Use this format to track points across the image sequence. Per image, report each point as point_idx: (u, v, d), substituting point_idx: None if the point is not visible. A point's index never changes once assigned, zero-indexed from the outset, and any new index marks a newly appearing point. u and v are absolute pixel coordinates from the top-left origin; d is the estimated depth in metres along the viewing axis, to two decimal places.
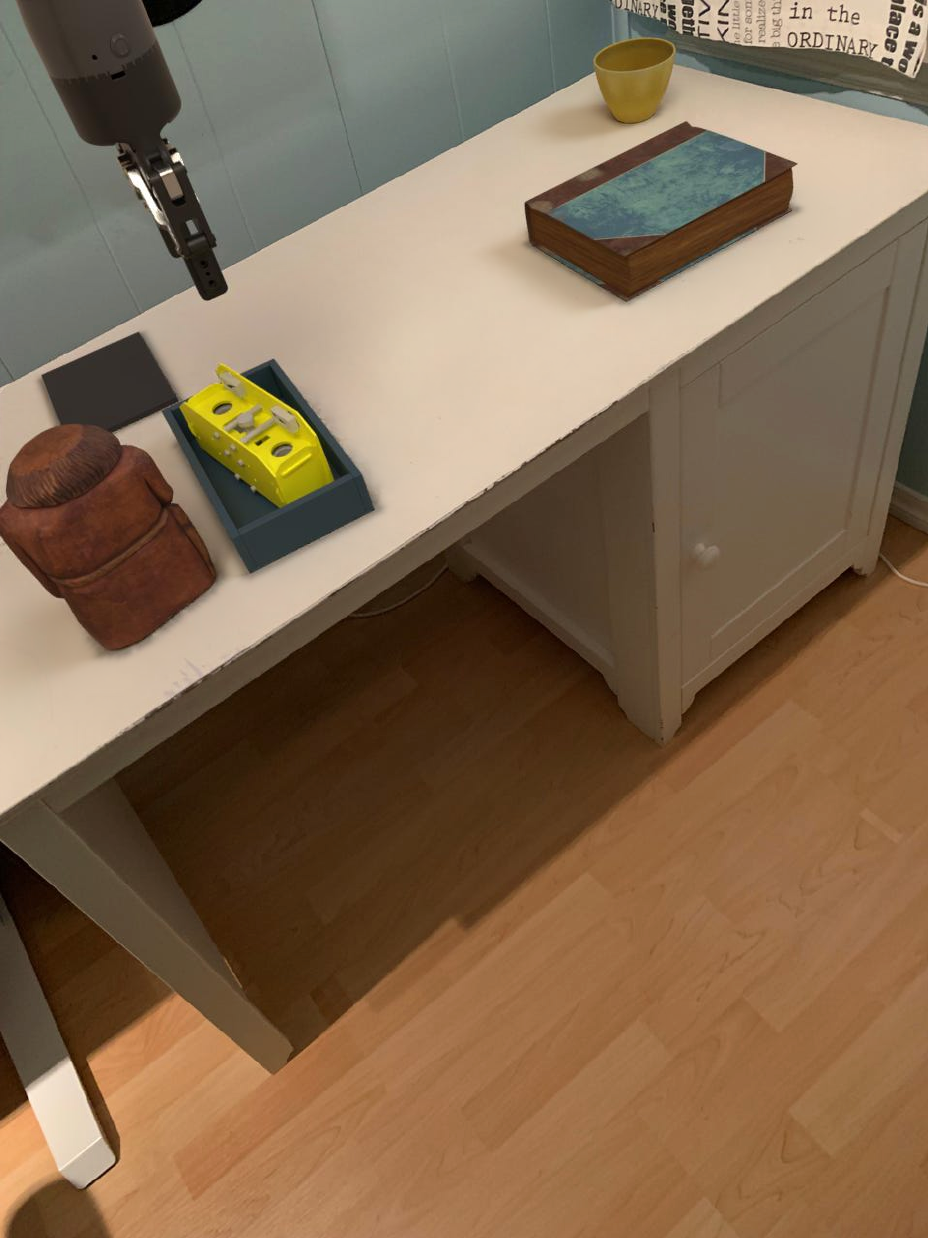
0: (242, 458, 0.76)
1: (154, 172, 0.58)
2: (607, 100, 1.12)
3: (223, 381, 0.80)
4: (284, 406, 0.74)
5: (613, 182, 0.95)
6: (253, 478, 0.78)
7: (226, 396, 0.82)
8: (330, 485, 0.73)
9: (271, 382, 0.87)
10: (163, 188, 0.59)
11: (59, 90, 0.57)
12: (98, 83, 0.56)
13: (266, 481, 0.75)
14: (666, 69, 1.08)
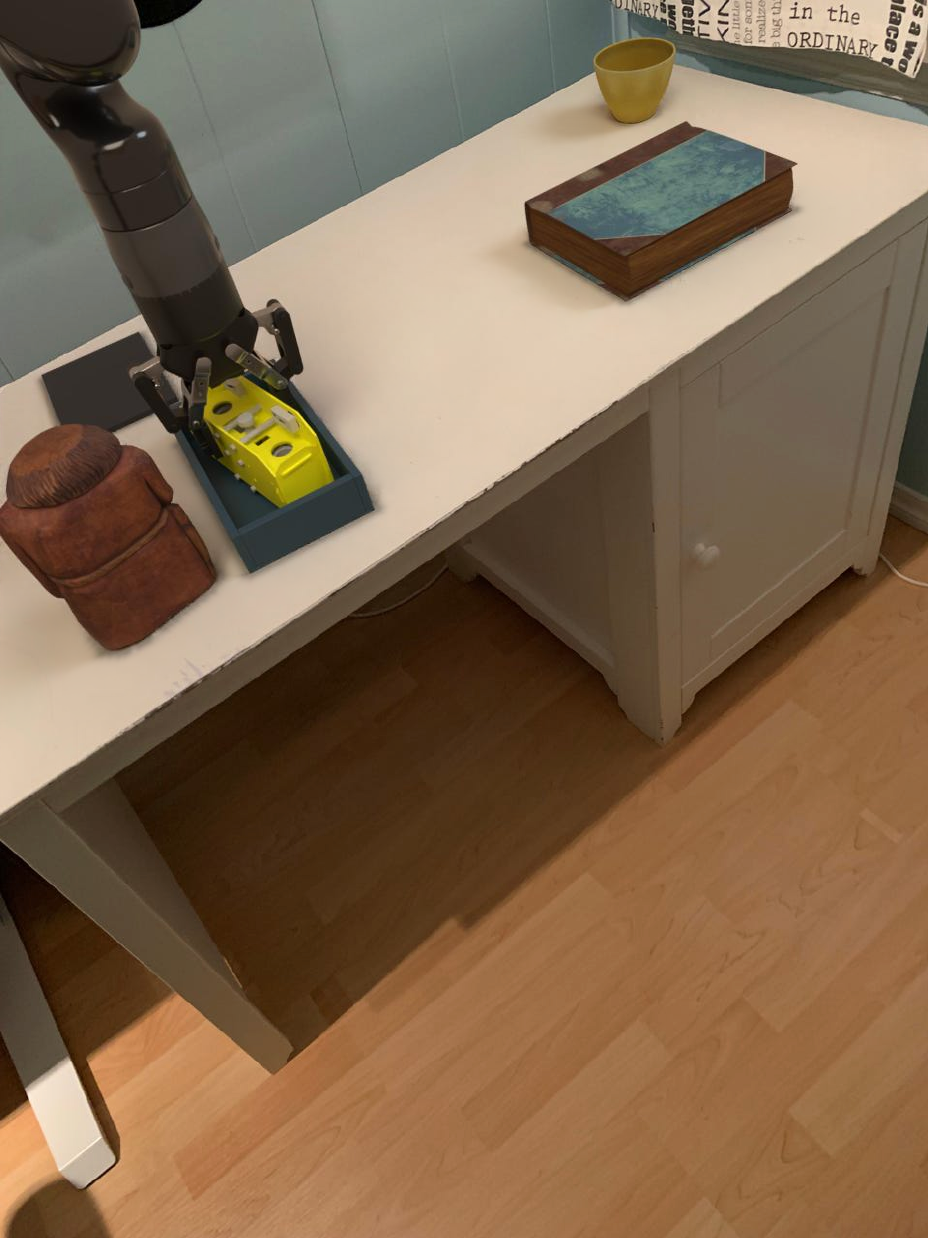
0: (242, 458, 0.76)
1: (130, 367, 0.70)
2: (607, 100, 1.12)
3: None
4: (284, 406, 0.74)
5: (613, 182, 0.95)
6: (253, 478, 0.78)
7: (226, 396, 0.82)
8: (330, 485, 0.73)
9: None
10: None
11: None
12: None
13: (266, 481, 0.75)
14: (666, 69, 1.08)
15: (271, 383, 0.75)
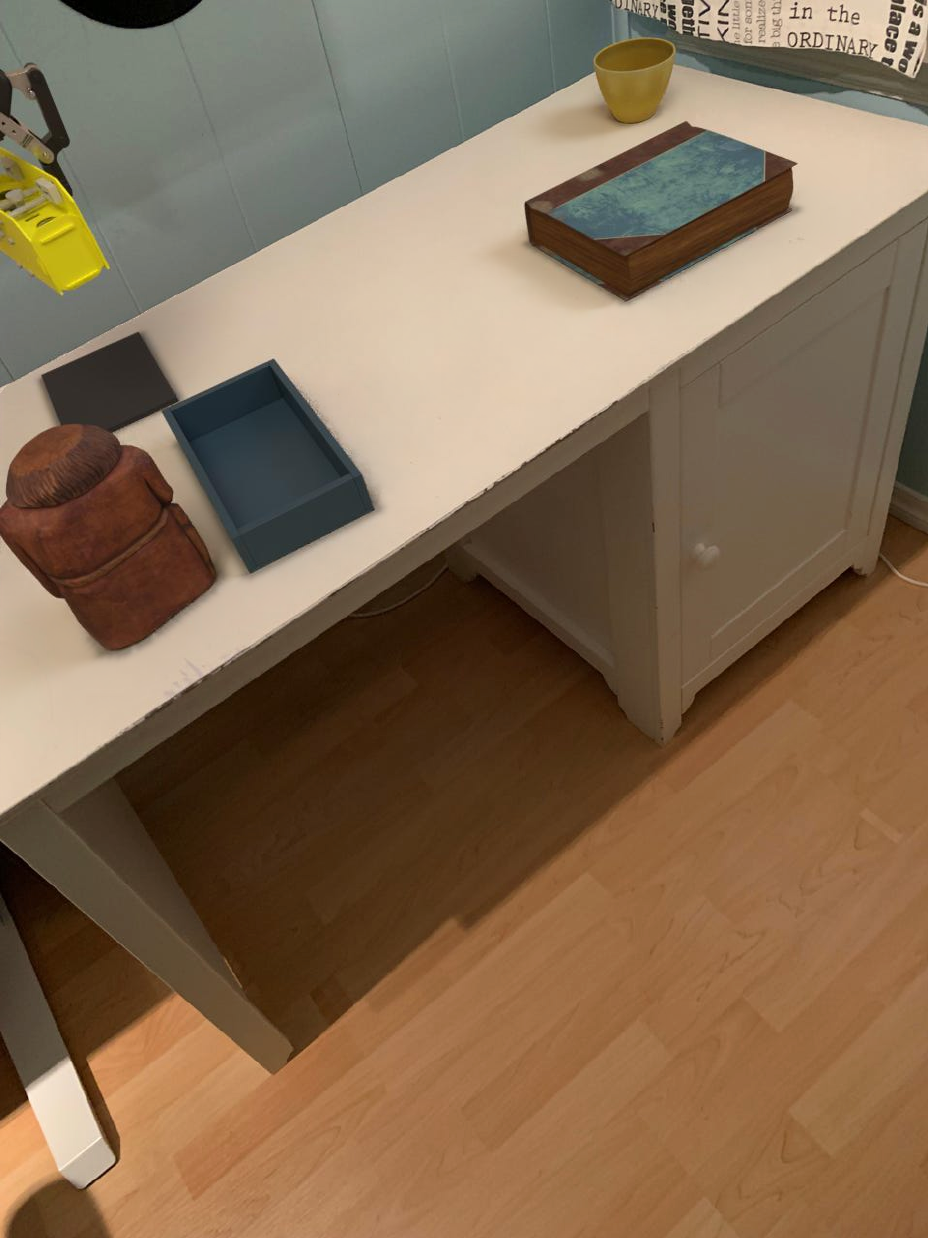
0: (10, 233, 0.76)
1: None
2: (607, 100, 1.12)
3: (3, 166, 0.79)
4: (45, 176, 0.74)
5: (613, 182, 0.95)
6: (26, 258, 0.77)
7: (11, 186, 0.81)
8: (330, 485, 0.73)
9: (271, 382, 0.87)
10: None
11: None
12: None
13: (30, 253, 0.75)
14: (666, 69, 1.08)
15: (35, 154, 0.74)
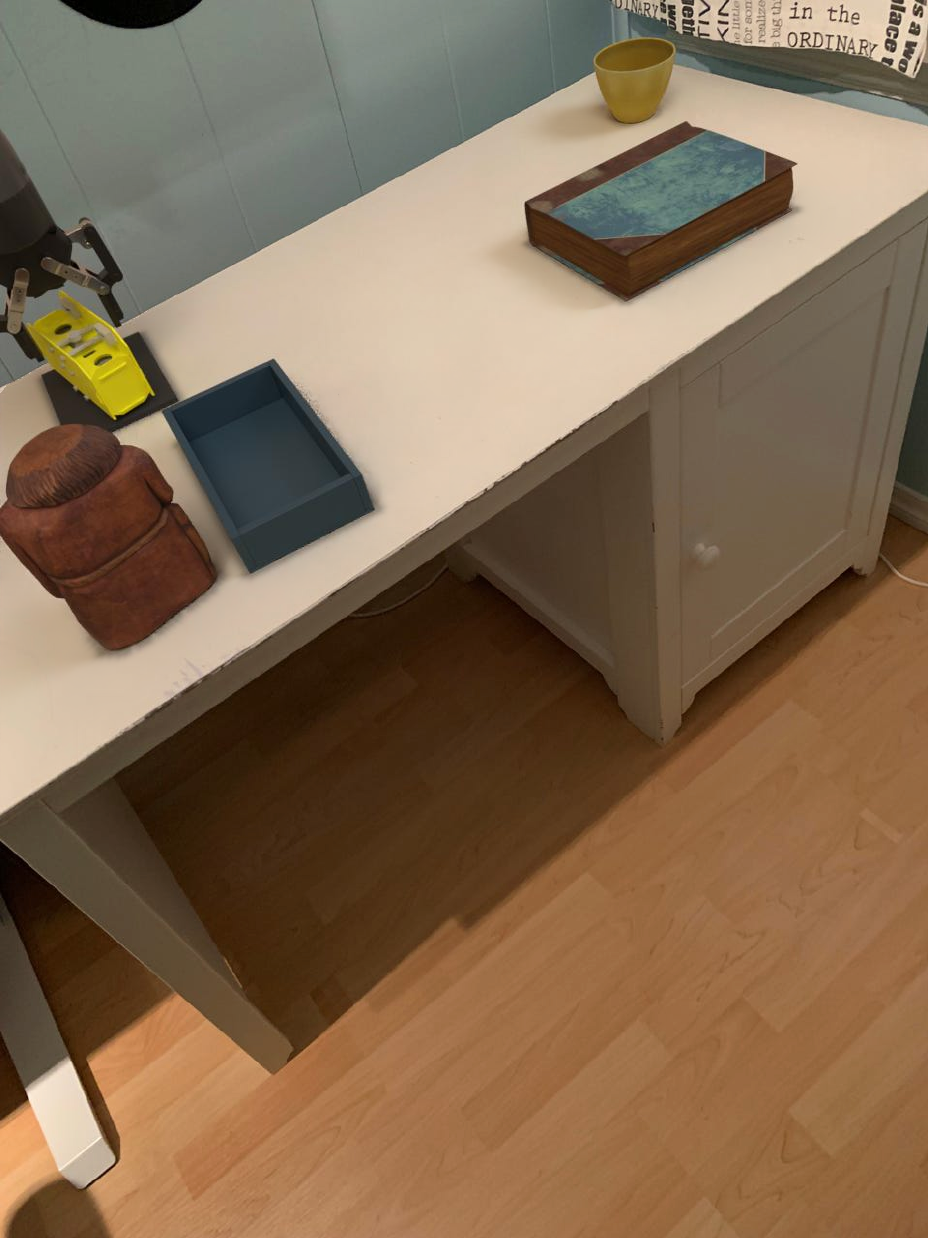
0: (71, 368, 0.90)
1: None
2: (607, 100, 1.12)
3: (62, 305, 0.94)
4: (102, 323, 0.88)
5: (613, 182, 0.95)
6: (83, 386, 0.91)
7: (68, 320, 0.96)
8: (330, 485, 0.73)
9: (271, 382, 0.87)
10: None
11: None
12: None
13: (89, 386, 0.89)
14: (666, 69, 1.08)
15: (94, 288, 0.88)
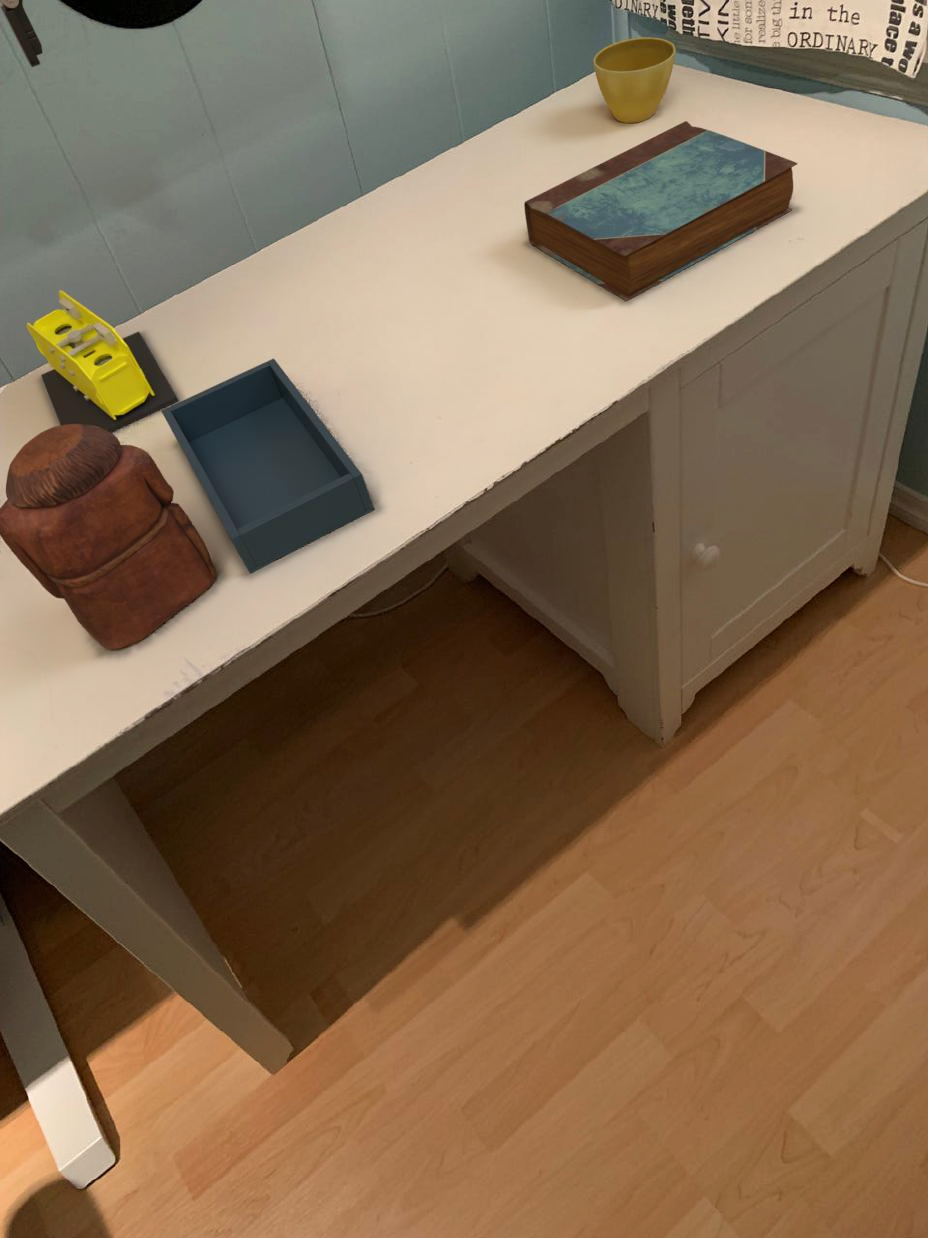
0: (71, 368, 0.90)
1: None
2: (607, 100, 1.12)
3: (62, 306, 0.94)
4: (102, 323, 0.88)
5: (613, 182, 0.95)
6: (83, 386, 0.91)
7: (68, 320, 0.96)
8: (330, 485, 0.73)
9: (271, 382, 0.87)
10: None
11: None
12: None
13: (89, 386, 0.89)
14: (666, 69, 1.08)
15: None
